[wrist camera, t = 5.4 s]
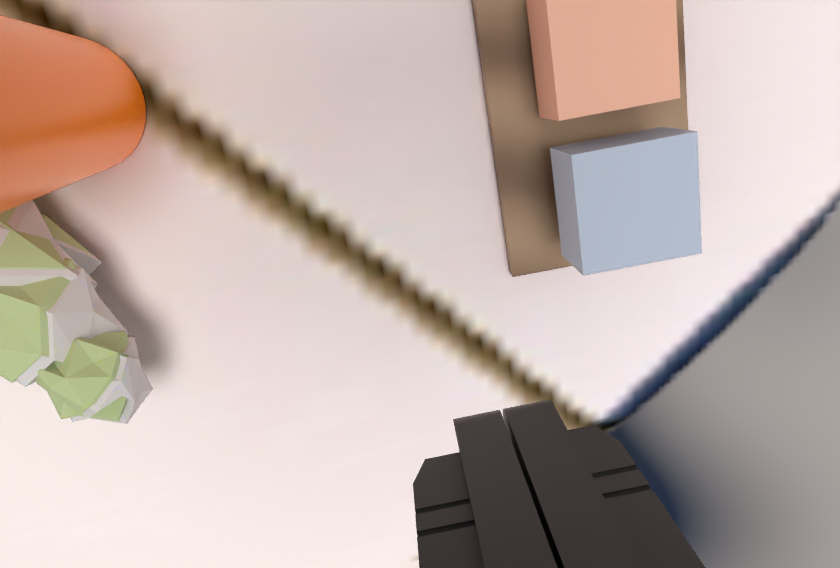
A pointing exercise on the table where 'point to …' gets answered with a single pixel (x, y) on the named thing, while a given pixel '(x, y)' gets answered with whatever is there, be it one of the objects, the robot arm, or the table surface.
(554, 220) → the board
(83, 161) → the shaker bottle
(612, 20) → the button terracotta
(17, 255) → the decorative object
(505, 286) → the table surface
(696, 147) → the button slate
